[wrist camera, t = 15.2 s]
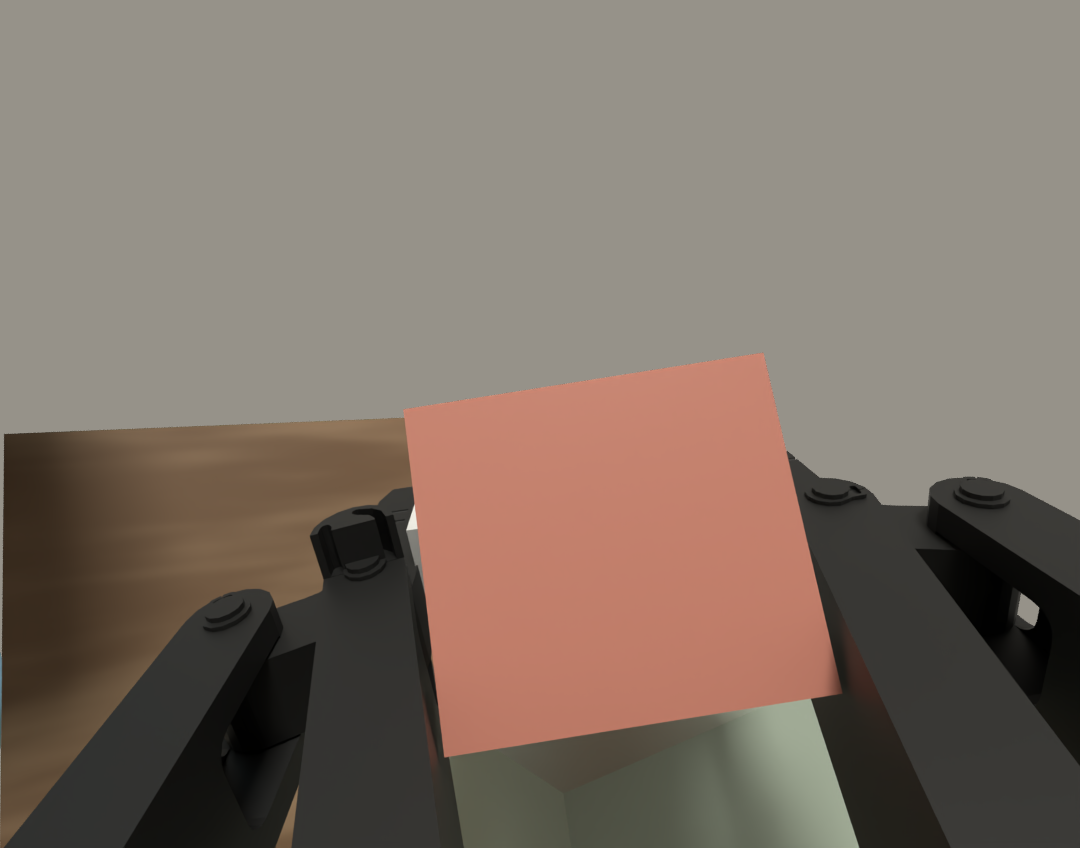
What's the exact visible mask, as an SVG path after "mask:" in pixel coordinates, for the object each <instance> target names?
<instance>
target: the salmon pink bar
mask: <svg viewBox="0 0 1080 848" xmlns="http://www.w3.org/2000/svg"><path fill="white" fill-rule="evenodd" d="M404 418H405V426H406V435H407V444H408V452H409V461H410V469H411V478H412V486H413V495H414V503H415V512H416V520H417V529H418V537H419V546H420V554H421V563H422V571H423V580H424V588H425V597H426V605H427V614H428V622H429V631H430V639H431V648H432V656H433V665H434V673H435V682H436V690H437V699H438V707H439V716H440V725H441V733H442V742H443V750H444V757H450V756H457V755H463V754H469V753H475V752H482V751H488V750H494V749H500V748H506V747H513V746H519V745H525V744H531V743H538V742H544V741H550V740H556V739H562V738H569V737H575V736H581V735H587V734H594V733H600V732H606V731H612V730H619V729H625V728H631V727H637V726H643V725H650V724H656V723H662V722H668V721H675V720H681V719H687V718H693V717H699V716H706V715H712V714H718V713H724V712H731V711H737V710H743V709H749V708H756V707H762V706H768V705H774V704H780V703H787V702H793V701H799V700H805V699H812V698H818V697H824V696H830V695H836V694H843V693H842V689H841V685H840V680H839V676H838V672H837V667H836V663H835V659H834V655H833V650H832V646H831V642H830V637H829V633H828V629H827V624H826V620H825V616H824V611H823V607H822V603H821V599H820V594H819V590H818V586H817V581H816V577H815V573H814V568H813V564H812V560H811V556H810V551H809V547H808V543H807V538H806V534H805V530H804V525H803V521H802V517H801V512H800V508H799V504H798V500H797V495H796V491H795V487H794V482H793V478H792V474H791V469H790V465H789V461H788V457H787V452H786V448H785V444H784V440H783V435H782V431H781V426H780V422H779V418H778V414H777V409H776V405H775V401H774V396H773V392H772V388H771V383H770V379H769V375H768V370H767V366H766V362H765V358H764V354H763V353H758V354H752V355H746V356H739V357H733V358H726V359H720V360H714V361H707V362H701V363H695V364H688V365H682V366H676V367H669V368H663V369H657V370H650V371H644V372H638V373H632V374H625V375H619V376H613V377H606V378H601V379H593V380H587V381H581V382H574V383H568V384H562V385H555V386H549V387H543V388H536V389H530V390H523V391H517V392H511V393H504V394H498V395H492V396H485V397H479V398H473V399H467V400H460V401H454V402H447V403H441V404H435V405H428V406H422V407H416V408H409V409H404Z"/></svg>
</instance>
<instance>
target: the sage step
mask: <svg viewBox="0 0 1080 848" xmlns="http://www.w3.org/2000/svg"><path fill="white" fill-rule="evenodd" d="M449 759H450V765H451V772H452V778H453V784H454V790H455V796H456V802H457V808H458V815H459V821H460V827H461V833H462V839H463V845H464V848H859V846H858V842H857V839H856V836H855V833H854V830H853V827H852V824H851V821H850V818H849V815H848V812H847V809H846V806H845V803H844V799H843V796H842V793H841V790H840V787H839V784H838V781H837V778H836V775H835V772H834V769H833V766H832V763H831V760H830V756H829V753H828V750H827V747H826V744H825V741H824V738H823V735H822V732H821V729H820V726H819V723H818V720H817V717H816V713H815V710H814V707H813V704H812V701H811V699H805V700H799V701H793V702H787V703H780V704H774V705H768V706H762V707H756V708H749V709H743V710H737V711H731V712H724V713H718V714H712V715H706V716H699V717H693V718H687V719H681V720H675V721H668V722H662V723H656V724H650V725H643V726H637V727H631V728H625V729H619V730H612V731H606V732H600V733H594V734H587V735H581V736H575V737H569V738H562V739H556V740H550V741H544V742H538V743H531V744H525V745H519V746H513V747H506V748H500V749H494V750H488V751H482V752H475V753H469V754H463V755H457V756H450V757H449Z"/></svg>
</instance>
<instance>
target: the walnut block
mask: <svg viewBox="0 0 1080 848" xmlns="http://www.w3.org/2000/svg"><path fill="white" fill-rule="evenodd" d="M406 487H412V478H411V469H410V461H409V452H408V444H407V435H406V426H405V418H388V419H364V420H339V421H315V422H290V423H268V424H243V425H242V424H241V425H219V426H192V427H168V428H144V429H118V430H94V431H70V432H45V433H20V434H4V509H3V610H2V612H3V613H2V617H3V619H2V710H1V813H0V818H1V819H0V848H4V847H5V845H6V844H7V843H8V842H9V840H10V839H11V838H12V837H13V835H14V834H15V833H16V832H17V830H18V829H19V828H20V827H21V825H22V824H23V823H24V822H25V820H26V819H27V818H28V817H29V815H30V814H31V813H32V812H33V810H34V809H35V808H36V807H37V806H38V804H39V803H40V802H41V801H42V799H43V798H44V797H45V796H46V794H47V793H48V792H49V791H50V789H51V788H52V787H53V786H54V784H55V783H56V782H57V781H58V779H59V778H60V777H61V776H62V774H63V773H64V772H65V771H66V769H67V768H68V767H69V766H70V764H71V763H72V762H73V761H74V760H75V758H76V757H77V756H78V755H79V753H80V752H81V751H82V750H83V748H84V747H85V746H86V745H87V743H88V742H89V741H90V740H91V738H92V737H93V736H94V735H95V733H96V732H97V731H98V730H99V728H100V727H101V726H102V725H103V723H104V722H105V721H106V720H107V718H108V717H109V716H110V715H111V713H112V712H113V711H114V710H115V709H116V707H117V706H118V705H119V704H120V702H121V701H122V700H123V699H124V697H125V696H126V695H127V694H128V692H129V691H130V690H131V689H132V687H133V686H134V685H135V684H136V682H137V681H138V680H139V679H140V677H141V676H142V675H143V674H144V672H145V671H146V670H147V669H148V667H149V666H150V665H151V664H152V663H153V661H154V660H155V659H156V658H157V656H158V655H159V654H160V653H161V651H162V650H163V649H164V648H165V646H166V645H167V644H168V643H169V641H170V640H171V639H172V638H173V636H174V635H175V634H176V633H177V631H178V630H179V629H180V628H181V626H182V625H183V624H184V623H185V622H186V621H187V620H188V619H189V618H190V617H191V616H192V615H193V614H194V613H195V612H196V611H197V610H199V609H200V608H202V607H203V606H205V605H207V604H208V603H210V601H212V600H213V599H215V598H217V597H219V596H221V597H222V596H223V595H224V594H227V593H230V592H237V591H241V590H245V589H262V590H265V591H268V592H270V594H271V596H272V598H273V600H274V603H275V606H276V608H278V607H281V606H284V605H287V604H289V603H292V602H295V601H298V600H301V599H304V598H307V597H309V596H312V595H314V594H317V593H319V592H321V591H322V588H323V580H324V579H323V576H322V573H321V570H320V567H319V564H318V561H317V558H316V555H315V552H314V549H313V545H312V542H311V539H310V534H311V532H312V530H313V529H314V527H316V526H317V525H318V524H319V523H320V522H322V521H323V520H324V519H326V518H328V517H330V516H332V515H334V514H336V513H337V512H340V511H343V510H346V509H349V508H352V507H358V506H364V505H378V503H379V501H380V500H382V499H383V498H384V497H385V496H386V495H387V494H388V493H390V492H391V491H392V490H393V489H399V488H406ZM431 660H432V664H433V656H432V654H431ZM433 668H434V665H433ZM298 787H299V785H298ZM297 796H298V788H297V791H296V793H295V796H294V799H293V801H292V804H291V807H290V809H289V812H288V815H287V817H286V820H285V823H284V826H283V828H282V831H281V834H280V836H279V839H278V842H277V844H276V847H275V848H291V846H292V837H293V829H294V821H295V812H296V804H297Z"/></svg>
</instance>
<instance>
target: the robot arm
mask: <svg viewBox="0 0 1080 848" xmlns="http://www.w3.org/2000/svg"><path fill="white" fill-rule="evenodd" d="M786 452H787V457H788V461H789V465H790V469H791V474H792V478H793V482H794V487H795V491H796V495H797V500H798V504H799V508H800V512H801V517H802V521H803V525H804V530H805V534H806V538H807V543H808V547H809V551H810V556H811V560H812V564H813V568H814V573H815V577H816V581H817V586H818V590H819V594H820V599H821V603H822V607H823V611H824V616H825V620H826V624H827V629H828V633H829V637H830V642H831V646H832V650H833V655H834V659H835V663H836V667H837V672H838V676H839V680H840V685H841V689H842V693H843V694H836V695H830V696H824V697H818V698H812V699H811V701H812V704H813V707H814V710H815V713H816V717H817V720H818V723H819V726H820V729H821V732H822V735H823V738H824V741H825V744H826V747H827V750H828V753H829V756H830V760H831V763H832V766H833V769H834V772H835V775H836V778H837V781H838V784H839V787H840V790H841V793H842V796H843V799H844V803H845V806H846V809H847V812H848V815H849V818H850V821H851V824H852V827H853V830H854V833H855V836H856V839H857V842H858V846H859V848H1080V520H1078V519H1076V518H1074V517H1072V516H1070V515H1069V514H1067V513H1065V512H1063V511H1061V510H1059V509H1057V508H1055V507H1053V506H1051V505H1049V504H1048V503H1046V502H1044V501H1042V500H1040V499H1038V498H1036V497H1034V496H1032V495H1030V494H1028V493H1026V492H1025V491H1023V490H1020V489H1018V488H1015V487H1013V486H1010V485H1008V484H1005V483H1000V482H996V481H992V480H991V479H987V478H981V477H977V478H975V477H963V478H952V479H946V480H943V481H940V482H936V483H935V484H934V485H933V486H932V487H931V488H930V491H929V500H928V506H890V505H881V503H880V502H879V501H878V500H877V498H876V497H875V496H874V494H873V493H871V492H870V491H869V490H867V489H866V488H865V487H863V486H861V485H858V484H856V483H853V482H850V481H845V480H840V479H833V478H819V477H818V476H817V475H816V474H814V473H813V472H812V471H811V470H809V469H808V468H807V467H806V466H805V465H803V464H802V463H801V462H800V461H799V460H797V459H796V460H795V457H794V456H793V455H792V454H790V453H789V452H788V451H786ZM310 539H311V542H312V545H313V549H314V552H315V555H316V558H317V561H318V564H319V567H320V570H321V573H322V576H323V579H324V580H323V588H322V591H321V592H319V593H317V594H314V595H312V596H309V597H307V598H304V599H301V600H298V601H295V602H292V603H289V604H287V605H284V606H281V607H278V608H276V606H275V603H274V600H273V598H272V596H271V594H270V592H268V591H265V590H262V589H245V590H241V591H237V592H230V593H227V594H224V595H223V596H222V597H221V596H219V597H217V598H215V599H213V600H212V601H210V603H208V604H207V605H205V606H203V607H202V608H200V609H199V610H197V611H196V612H195V613H194V614H193V615H192V616H191V617H190V618H189V619H188V620H187V621H186V622H185V623H184V624H183V625H182V626H181V628H180V629H179V630H178V631H177V633H176V634H175V635H174V636H173V638H172V639H171V640H170V641H169V643H168V644H167V645H166V646H165V648H164V649H163V650H162V651H161V653H160V654H159V655H158V656H157V658H156V659H155V660H154V661H153V663H152V664H151V665H150V666H149V667H148V669H147V670H146V671H145V672H144V674H143V675H142V676H141V677H140V679H139V680H138V681H137V682H136V684H135V685H134V686H133V687H132V689H131V690H130V691H129V692H128V694H127V695H126V696H125V697H124V699H123V700H122V701H121V702H120V704H119V705H118V706H117V707H116V709H115V710H114V711H113V712H112V713H111V715H110V716H109V717H108V718H107V720H106V721H105V722H104V723H103V725H102V726H101V727H100V728H99V730H98V731H97V732H96V733H95V735H94V736H93V737H92V738H91V740H90V741H89V742H88V743H87V745H86V746H85V747H84V748H83V750H82V751H81V752H80V753H79V755H78V756H77V757H76V758H75V760H74V761H73V762H72V763H71V764H70V766H69V767H68V768H67V769H66V771H65V772H64V773H63V774H62V776H61V777H60V778H59V779H58V781H57V782H56V783H55V784H54V786H53V787H52V788H51V789H50V791H49V792H48V793H47V794H46V796H45V797H44V798H43V799H42V801H41V802H40V803H39V804H38V806H37V807H36V808H35V809H34V810H33V812H32V813H31V814H30V815H29V817H28V818H27V819H26V820H25V822H24V823H23V824H22V825H21V827H20V828H19V829H18V830H17V832H16V833H15V834H14V835H13V837H12V838H11V839H10V840H9V842H8V843H7V844H6V845H5V847H4V848H275V847H276V844H277V842H278V839H279V836H280V834H281V831H282V828H283V826H284V823H285V820H286V817H287V815H288V812H289V809H290V807H291V804H292V801H293V799H294V796H295V793H296V791H297V788H298V796H297V804H296V812H295V821H294V829H293V837H292V846H291V848H464V845H463V839H462V833H461V827H460V821H459V815H458V808H457V802H456V796H455V790H454V784H453V778H452V772H451V765H450V759H449V757H444V750H443V742H442V733H441V725H440V716H439V707H438V699H437V690H436V682H435V673H434V668H433V664H432V660H431V654H432V648H431V639H430V631H429V622H428V614H427V605H426V597H425V588H424V580H423V571H422V563H421V554H420V546H419V537H418V529H417V520H416V512H415V503H414V495H413V486H412V487H406V488H399V489H393V490H392V491H391V492H390V493H388V494H387V495H386V496H385V497H384V498H383V499H382V500H380V501H379V503H378V505H364V506H358V507H352V508H349V509H346V510H343V511H340V512H337V513H336V514H334V515H332V516H330V517H328V518H326V519H324V520H323V521H322V522H320V523H319V524H318V525H317V526H316V527H314V529H313V530H312V532H311V534H310ZM1021 593H1022V594H1023V595H1025V596H1026V597H1028V598H1029V599H1030V600H1032V601H1033V602H1034V603H1035V604H1036V605H1037V606H1038V607H1039V614H1038V619H1037V622H1036V625H1035V626H1033V625H1031V624H1029V623H1027V622H1026V621H1024V620H1023V619H1022V618H1020V616H1018V615H1017V612H1018V606H1019V601H1020V595H1021ZM1 710H2V657H1V653H0V748H1ZM298 785H299V787H298Z"/></svg>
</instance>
